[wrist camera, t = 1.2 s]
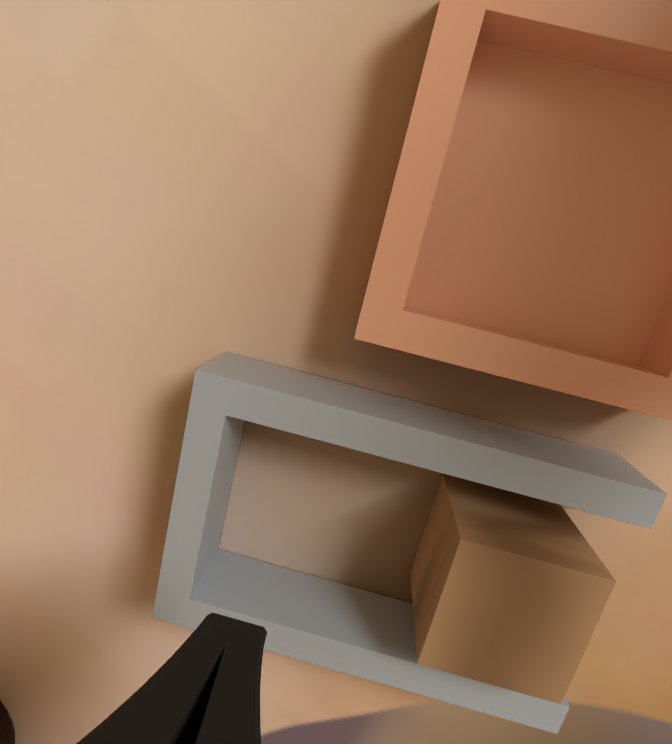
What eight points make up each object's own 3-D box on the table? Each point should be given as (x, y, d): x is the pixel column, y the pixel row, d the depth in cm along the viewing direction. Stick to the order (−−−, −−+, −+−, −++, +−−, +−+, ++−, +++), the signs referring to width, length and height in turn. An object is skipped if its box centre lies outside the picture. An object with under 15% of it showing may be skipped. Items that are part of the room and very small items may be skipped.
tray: (785, 76, 14) (868, 38, 12) (647, 401, 17) (692, 425, 14) (442, -2, 15) (454, -55, 12) (357, 327, 17) (353, 338, 15)
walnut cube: (559, 503, 18) (615, 581, 14) (520, 602, 19) (560, 704, 15) (442, 472, 18) (460, 539, 14) (410, 572, 19) (417, 663, 15)
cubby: (618, 454, 17) (666, 494, 14) (531, 663, 19) (557, 733, 17) (226, 352, 18) (195, 369, 15) (185, 566, 20) (151, 617, 17)
